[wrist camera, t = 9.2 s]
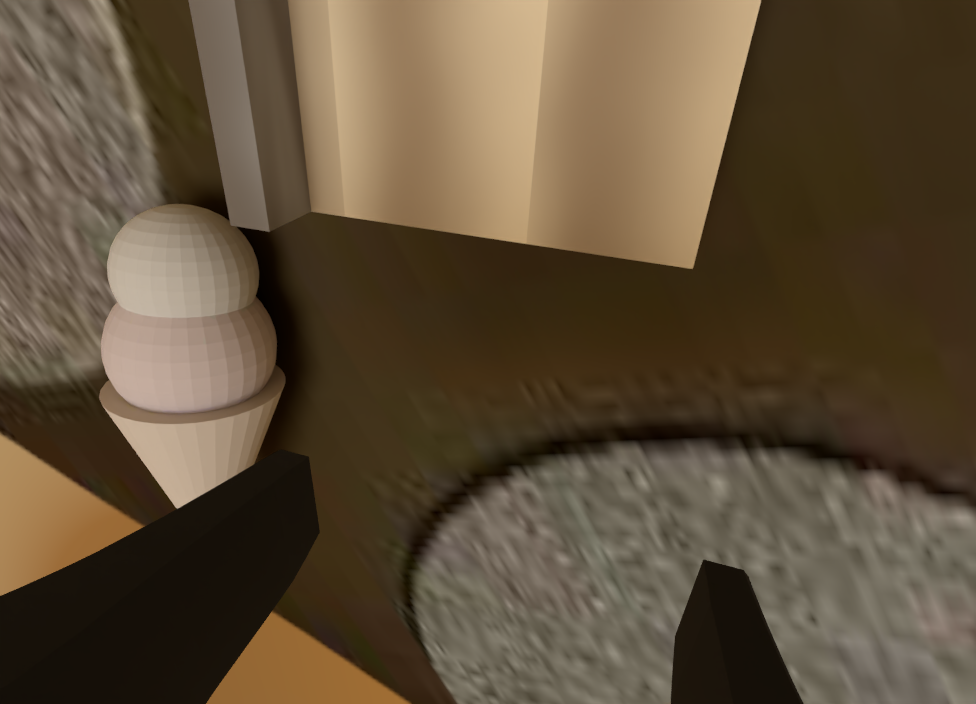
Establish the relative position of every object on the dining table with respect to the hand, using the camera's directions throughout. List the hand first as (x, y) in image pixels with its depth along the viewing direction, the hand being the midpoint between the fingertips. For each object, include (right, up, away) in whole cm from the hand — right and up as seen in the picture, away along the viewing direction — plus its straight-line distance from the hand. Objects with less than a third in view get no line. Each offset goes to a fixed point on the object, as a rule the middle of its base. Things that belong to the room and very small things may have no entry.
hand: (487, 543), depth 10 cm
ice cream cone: (-10, +3, +14) cm, 17 cm away
